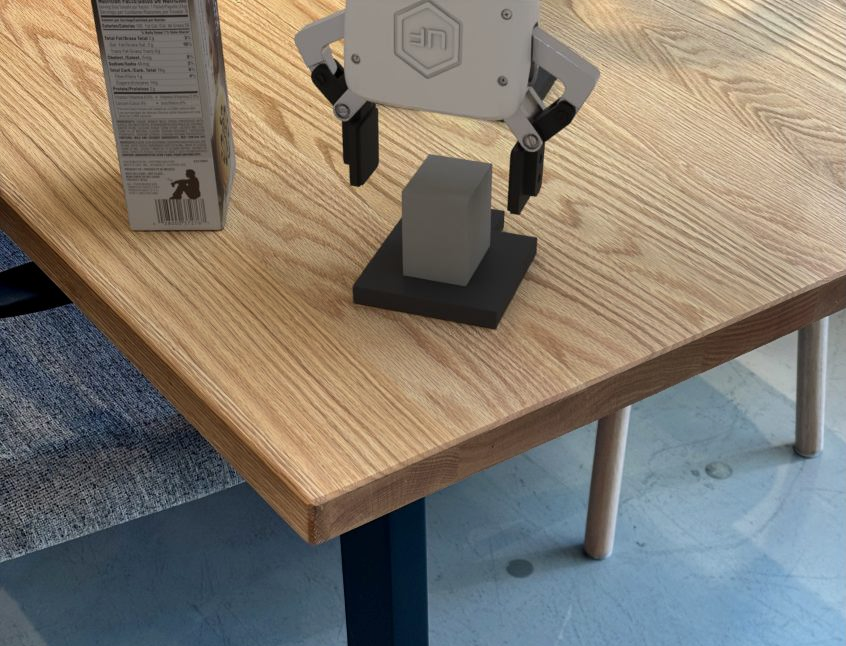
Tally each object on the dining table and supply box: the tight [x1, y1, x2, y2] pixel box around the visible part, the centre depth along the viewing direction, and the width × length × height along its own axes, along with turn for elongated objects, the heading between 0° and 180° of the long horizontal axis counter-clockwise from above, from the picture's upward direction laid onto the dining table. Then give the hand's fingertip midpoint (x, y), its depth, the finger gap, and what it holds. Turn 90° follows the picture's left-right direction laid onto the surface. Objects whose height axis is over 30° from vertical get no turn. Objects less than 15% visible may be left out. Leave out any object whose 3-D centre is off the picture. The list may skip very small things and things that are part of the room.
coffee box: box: [90, 0, 237, 231], centre depth 84 cm, size 9×6×16 cm
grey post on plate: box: [351, 153, 538, 330], centre depth 81 cm, size 9×12×7 cm
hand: (441, 190), depth 78 cm, fingers open, 9 cm apart
